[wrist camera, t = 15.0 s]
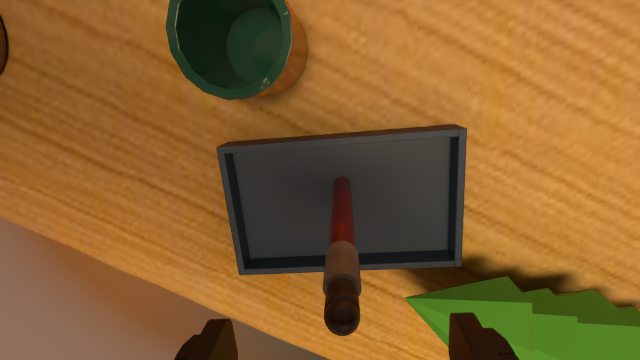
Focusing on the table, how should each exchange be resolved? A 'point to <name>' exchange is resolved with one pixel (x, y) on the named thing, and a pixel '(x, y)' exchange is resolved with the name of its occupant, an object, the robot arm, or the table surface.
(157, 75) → the table surface
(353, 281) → the brush
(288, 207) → the tray
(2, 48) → the robot arm
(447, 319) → the decorative tree
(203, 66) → the cup
